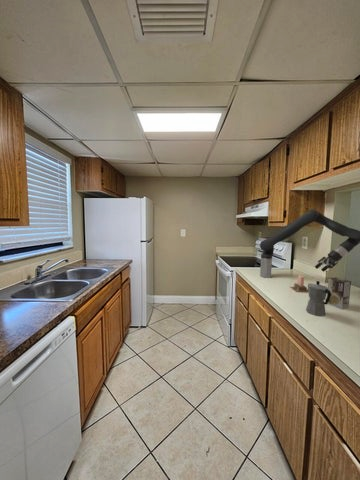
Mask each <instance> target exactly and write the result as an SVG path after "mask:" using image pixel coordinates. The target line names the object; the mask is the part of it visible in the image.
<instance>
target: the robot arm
mask: <svg viewBox="0 0 360 480" xmlns="http://www.w3.org/2000/svg"><path fill="white" fill-rule="evenodd" d="M312 223H316V224H320V225H322V226H324V227H326V228H327V229H328V230H329V231H332V232H333V233H335V234H337V235H339V236H342V237H347V239H346V240H344V241H342V243H340V244H339V245H337V246H336V247H335V248H334V249H332V250H331V251H329V253H327V256H323V257H321V258H320V259H319V260H318V261H317V264H316V265H315V266H314V268H315V269H317V270H318V269H319V268H320V267H321V266H323V265H325V266H323V267H322V268H321V269H320V271H322V272H326V271H327V270H328V269H333V268H334V267H335V266H337V264H338V263H339V261H340V260H342V259H343V258H344V257H346V256H347V254H349V253H350V252H352V250H353V249H354V248H355V247H357V246H358V245H359V244H360V230H359V229H355V228H351V227H349V226H347V225H344V224H342V223H340V222H338V221H335V220H334V219H331V218H328V217H327V216H326V215H323V214H322V213H321V212H320V211H318V210H316V209H309V210H307V211H306V212H304V213H303V214H302V215H301V216H300V217H298V218H297V219H296V220H294V221H292V222H290V223H288V224H286V225H285V226H284V227H282V228H280V229H279V230H278V231H276V232H275V233H274V234H273V235H271V236H270V237H268V238H266V239H264V240H263V241H261V242H260V244H259V249H260V250H262V253H261V254H260V270H259V271H260V273H259V277H262V278H266V279H267V278H268V279H269V278H272V264H273V256H274V251H275V250H274V249H275V248H274V247H275V245H276V244H279V243H281V242H283V241H285V240H287V239H289V238H291V237H292V236H293V235H295V234H297V232H299V231H300V230H301V229H303V228H304V227H305V226H308V225H310V224H312Z"/></svg>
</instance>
